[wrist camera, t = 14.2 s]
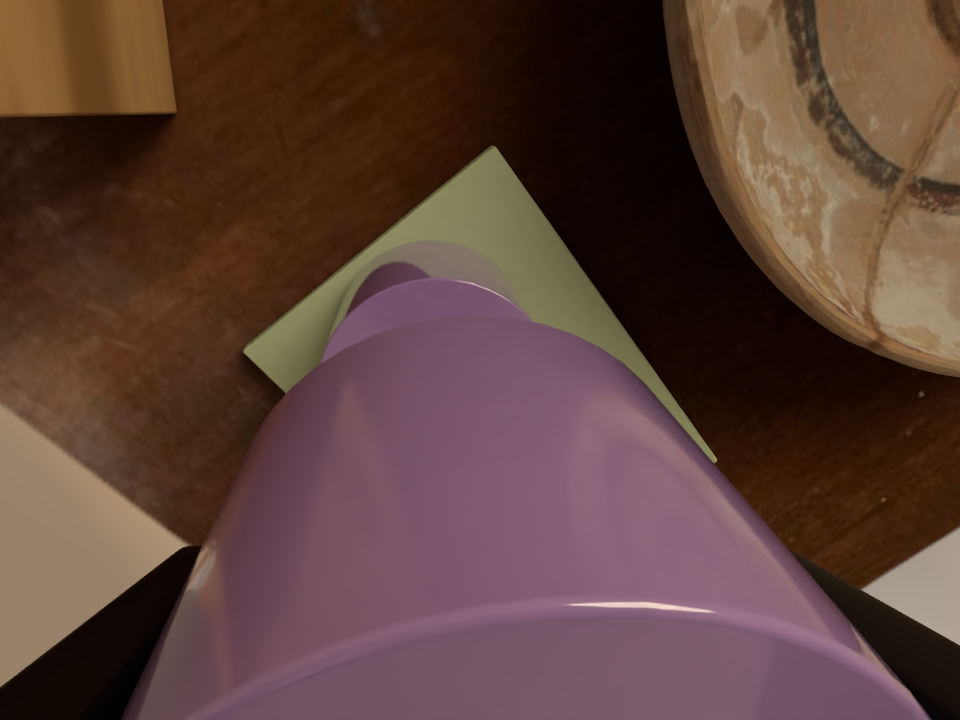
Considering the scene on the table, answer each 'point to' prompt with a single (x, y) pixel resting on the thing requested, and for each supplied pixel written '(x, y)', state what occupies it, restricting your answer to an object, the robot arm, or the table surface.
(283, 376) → the placemat
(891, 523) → the table surface
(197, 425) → the table surface
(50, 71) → the block
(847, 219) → the ceramic bowl
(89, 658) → the robot arm
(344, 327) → the purple round puck
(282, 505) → the lavender cylinder puck
